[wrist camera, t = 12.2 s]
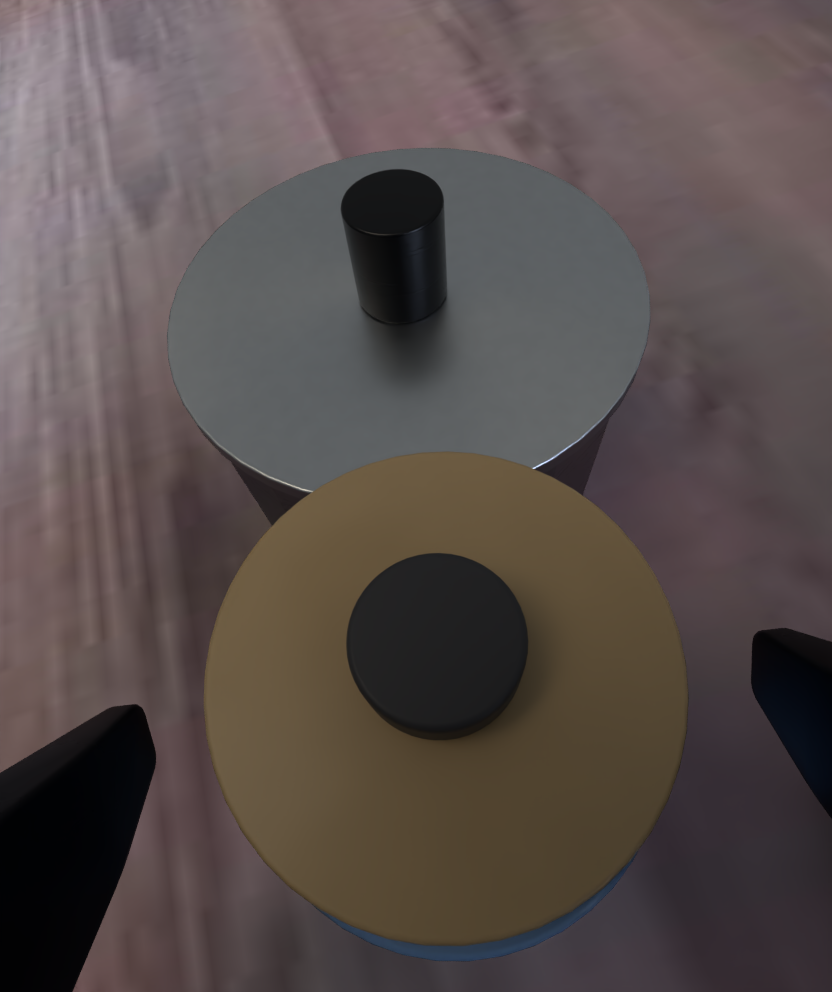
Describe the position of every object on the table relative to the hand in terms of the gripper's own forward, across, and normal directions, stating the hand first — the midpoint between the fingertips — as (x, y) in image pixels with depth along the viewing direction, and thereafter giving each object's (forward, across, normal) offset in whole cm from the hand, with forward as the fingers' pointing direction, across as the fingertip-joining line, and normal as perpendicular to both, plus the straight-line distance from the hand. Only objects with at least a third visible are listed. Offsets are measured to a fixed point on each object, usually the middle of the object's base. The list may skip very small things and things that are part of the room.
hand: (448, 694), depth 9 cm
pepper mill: (+6, 0, +6) cm, 8 cm away
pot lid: (+8, 0, -6) cm, 10 cm away
